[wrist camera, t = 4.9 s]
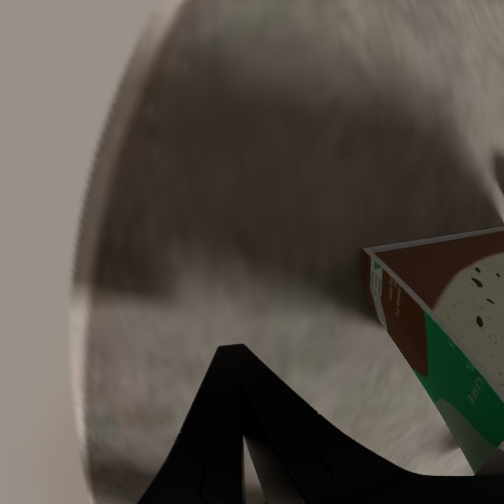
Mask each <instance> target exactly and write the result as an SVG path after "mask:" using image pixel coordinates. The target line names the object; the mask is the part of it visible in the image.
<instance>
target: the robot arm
mask: <svg viewBox="0 0 504 504" xmlns="http://www.w3.org/2000/svg"><path fill="white" fill-rule="evenodd" d="M243 435H244V438H245V441H246V444H247V447H248V450H249V453H250V456H251V459H252V462H253V465H254V467H255V470H256V473H257V476H258V479H259V481H260V484H261V487H262V490H263V492H264V495H265V498H266V500H267V503H268V504H504V473H502V474H495V475H481V476H430V475H422V474H417V473H413V472H410V471H407V470H405V469H403V468H401V467H399V466H397V465H395V464H393V463H392V462H390V461H388V460H386V459H385V458H383V457H381V456H379V455H378V454H376V453H374V452H373V451H371V450H369V449H367V448H366V447H364V446H363V445H361V444H359V443H358V442H356V441H355V440H353V439H352V438H350V437H349V436H347V435H346V434H344V433H343V432H342V431H340V430H339V429H338V428H336V427H335V426H334V425H333V424H331V423H330V422H329V421H328V420H327V419H325V418H324V417H323V416H322V415H321V414H318V412H317V411H316V410H315V409H314V408H313V407H311V406H310V405H309V404H308V403H307V402H306V401H305V400H303V399H302V398H301V397H300V396H299V395H298V394H297V393H296V392H295V391H293V390H292V389H291V388H290V387H289V386H288V385H287V384H286V383H285V382H284V381H282V380H281V379H280V378H279V377H278V376H277V375H276V374H275V373H274V372H273V371H272V370H271V369H270V368H268V367H267V366H266V365H265V364H264V363H263V362H262V361H261V360H260V359H259V358H258V357H257V356H256V355H255V354H254V353H253V352H252V351H251V350H250V349H249V348H248V347H247V346H246V345H244V344H233V345H223V346H219V347H218V348H217V350H216V352H215V354H214V357H213V359H212V361H211V363H210V366H209V368H208V370H207V372H206V374H205V377H204V379H203V381H202V383H201V385H200V388H199V390H198V392H197V394H196V396H195V399H194V401H193V403H192V405H191V407H190V410H189V412H188V414H187V416H186V418H185V421H184V423H183V425H182V427H181V429H180V433H179V434H178V436H177V438H176V440H175V442H174V444H173V446H172V448H171V450H170V452H169V454H168V456H167V458H166V460H165V462H164V463H163V465H162V466H161V468H160V470H159V471H158V473H157V474H156V476H155V478H154V479H153V480H152V482H151V483H150V485H149V486H148V488H147V489H146V491H145V492H144V494H143V495H142V496H141V498H140V499H139V501H138V502H137V504H246V494H245V468H244V440H243Z"/></svg>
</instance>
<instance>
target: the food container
mask: <svg viewBox="0 0 504 504" xmlns="http://www.w3.org/2000/svg"><path fill="white" fill-rule="evenodd" d="M362 279H363V283H364V286H365V290H366V293H367V297H368V301H369V304H370V308H371V309H372V311H373V312H374V314H375V315H376V317H377V318H378V319H379V321H380V322H381V324H382V325H383V326H384V328H385V329H386V331H387V332H388V334H389V335H390V337H391V338H392V339H393V341H394V342H395V344H396V345H397V347H398V348H399V350H400V351H401V353H402V354H403V356H404V357H405V359H406V360H407V362H408V363H409V365H410V366H411V368H412V369H413V371H414V372H415V374H416V376H417V377H418V379H419V380H420V382H421V383H422V385H423V386H424V388H425V390H426V391H427V393H428V394H429V396H430V398H431V399H432V401H433V402H434V404H435V406H436V407H437V409H438V411H439V412H440V414H441V415H442V417H443V419H444V420H445V422H446V424H447V425H448V427H449V429H450V431H451V432H452V434H453V436H454V437H455V439H456V441H457V443H458V444H459V446H460V448H461V450H462V452H463V453H464V455H465V457H466V459H467V461H468V462H469V464H470V466H471V468H472V470H473V472H474V474H475V475H474V476H481V475H495V474H502V473H504V226H501V227H495V228H489V229H483V230H477V231H470V232H464V233H458V234H452V235H445V236H439V237H433V238H426V239H420V240H413V241H407V242H400V243H394V244H387V245H380V246H374V247H367V248H362Z"/></svg>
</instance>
